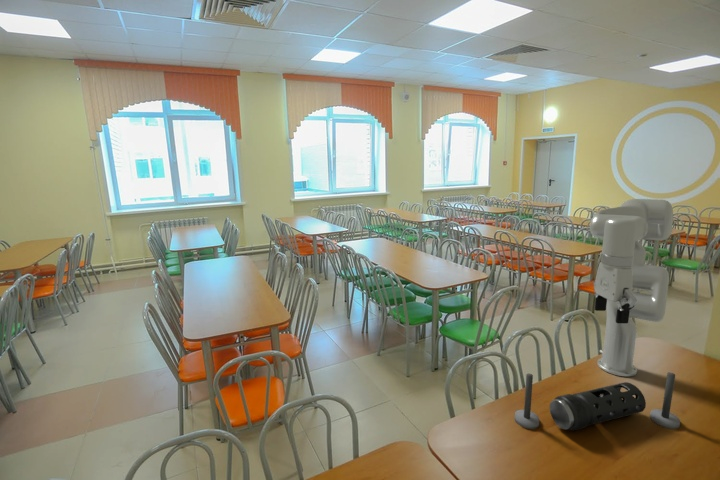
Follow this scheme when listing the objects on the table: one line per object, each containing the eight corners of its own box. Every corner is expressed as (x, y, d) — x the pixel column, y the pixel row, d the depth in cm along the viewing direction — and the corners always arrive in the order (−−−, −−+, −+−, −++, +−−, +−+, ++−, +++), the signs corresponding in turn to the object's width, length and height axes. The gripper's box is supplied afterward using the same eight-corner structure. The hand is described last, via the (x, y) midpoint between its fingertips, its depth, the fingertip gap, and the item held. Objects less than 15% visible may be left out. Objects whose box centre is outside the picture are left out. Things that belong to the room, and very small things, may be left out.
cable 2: (644, 413, 114) (650, 367, 111) (667, 413, 114) (673, 367, 111) (661, 428, 108) (668, 380, 104) (685, 428, 107) (693, 380, 104)
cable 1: (511, 413, 116) (513, 369, 113) (533, 413, 116) (536, 368, 113) (519, 429, 109) (522, 381, 106) (543, 429, 109) (546, 381, 106)
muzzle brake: (644, 422, 111) (648, 392, 109) (570, 442, 104) (573, 410, 102) (615, 403, 120) (619, 375, 118) (546, 420, 113) (548, 391, 111)
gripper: (585, 254, 112) (580, 306, 115) (624, 268, 95) (617, 328, 98) (610, 254, 112) (604, 306, 115) (653, 268, 95) (645, 328, 98)
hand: (610, 316), depth 107 cm, fingers open, 9 cm apart
